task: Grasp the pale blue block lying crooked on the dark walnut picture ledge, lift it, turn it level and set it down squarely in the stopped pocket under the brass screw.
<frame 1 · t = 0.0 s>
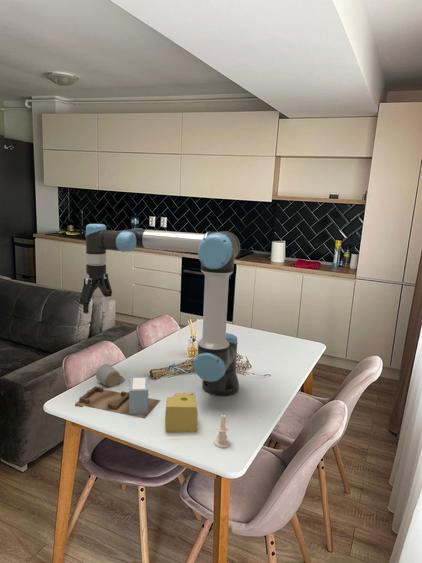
hand: (96, 316, 170), 28 cm above the table, fingers open, 13 cm apart
ledge board: (118, 403, 158), on the table
chess piece: (221, 443, 136), on the table
cheese: (180, 426, 145), on the table
pale blue block: (138, 406, 156), point 1 cm above the table, touching ledge board
ceramic mug: (111, 383, 174), on the table
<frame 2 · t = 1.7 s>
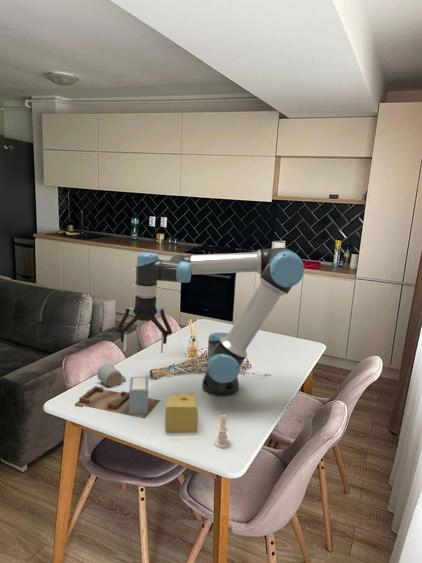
hand: (143, 351, 158), 20 cm above the table, fingers open, 13 cm apart
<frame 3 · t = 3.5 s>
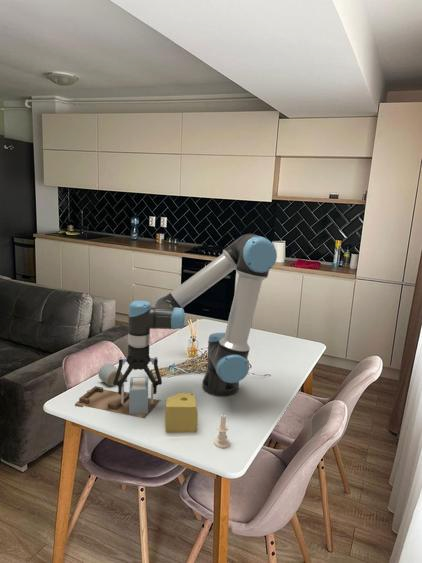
hand: (137, 401, 155), 2 cm above the table, fingers open, 10 cm apart
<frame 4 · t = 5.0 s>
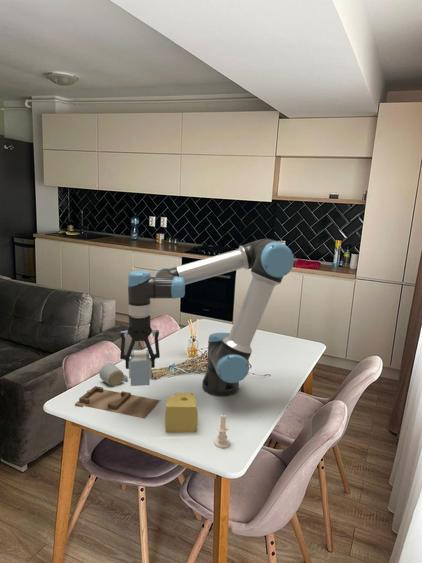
hand: (140, 376, 153), 12 cm above the table, fingers closed on pale blue block, 6 cm apart
pale blue block: (140, 378, 154), point 11 cm above the table, touching gripper
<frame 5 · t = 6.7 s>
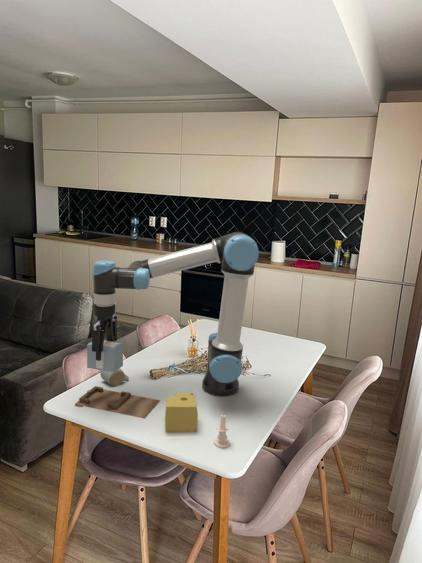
hand: (105, 364, 156), 15 cm above the table, fingers closed on pale blue block, 6 cm apart
pale blue block: (105, 366, 157), point 14 cm above the table, touching gripper
when the fingers open (3 cm above the table, at t = 9.2 s): pale blue block drops 1 cm, resting on ledge board.
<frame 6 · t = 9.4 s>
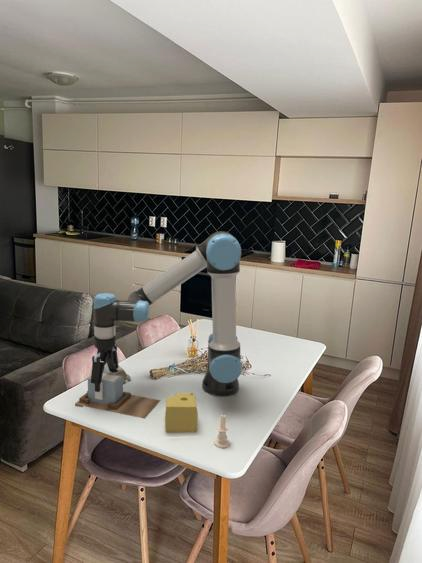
hand: (105, 393, 159), 3 cm above the table, fingers open, 8 cm apart
pale blue block: (105, 399, 159), point 1 cm above the table, touching ledge board
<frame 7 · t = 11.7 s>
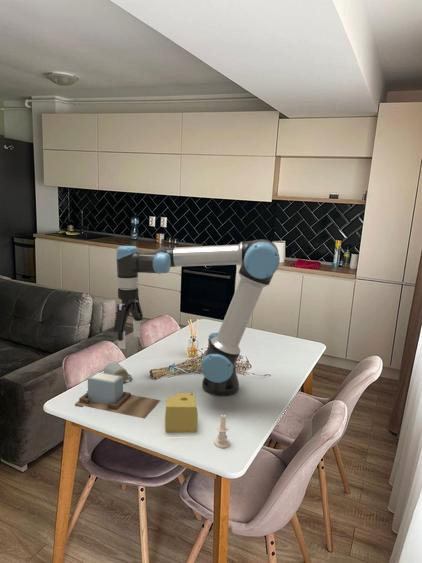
hand: (129, 342, 162), 21 cm above the table, fingers open, 13 cm apart
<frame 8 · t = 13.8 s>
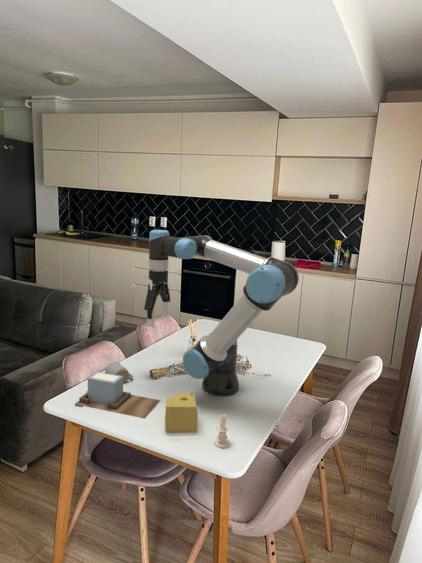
hand: (157, 321, 171), 27 cm above the table, fingers open, 13 cm apart
at the end: pale blue block 0.1 cm from the target spot on the ledge board, point 0.6 cm above the ledge board's base; pale blue block tilted 0°; the gripper is holding nothing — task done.
